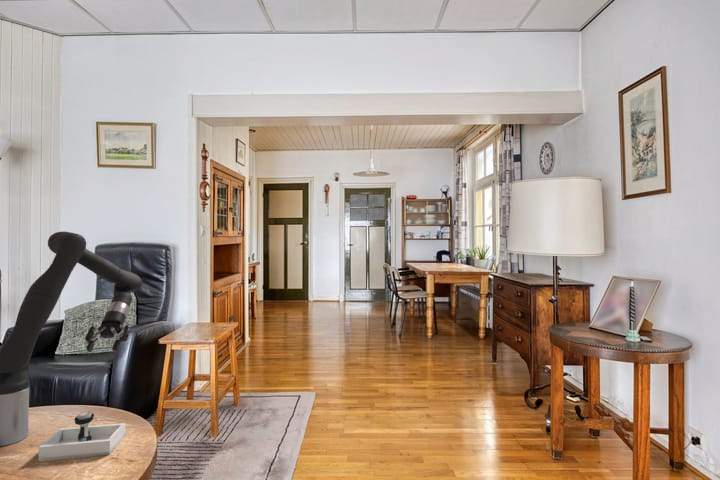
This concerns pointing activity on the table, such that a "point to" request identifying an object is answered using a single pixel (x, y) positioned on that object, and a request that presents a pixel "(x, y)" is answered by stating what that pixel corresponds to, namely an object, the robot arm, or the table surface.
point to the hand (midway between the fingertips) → (101, 350)
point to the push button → (84, 426)
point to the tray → (69, 447)
